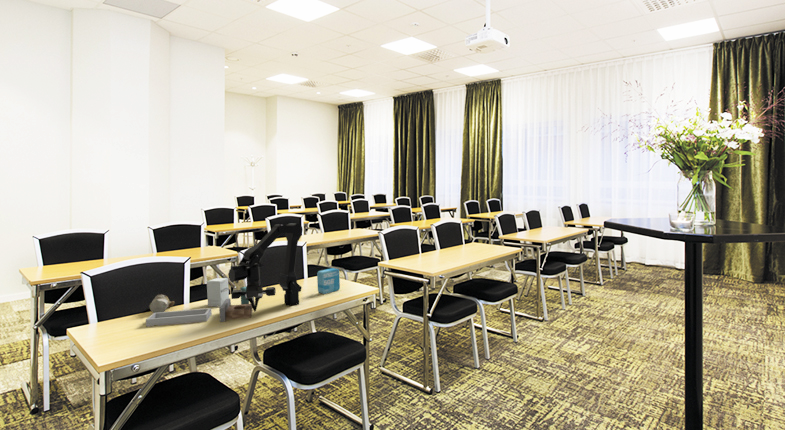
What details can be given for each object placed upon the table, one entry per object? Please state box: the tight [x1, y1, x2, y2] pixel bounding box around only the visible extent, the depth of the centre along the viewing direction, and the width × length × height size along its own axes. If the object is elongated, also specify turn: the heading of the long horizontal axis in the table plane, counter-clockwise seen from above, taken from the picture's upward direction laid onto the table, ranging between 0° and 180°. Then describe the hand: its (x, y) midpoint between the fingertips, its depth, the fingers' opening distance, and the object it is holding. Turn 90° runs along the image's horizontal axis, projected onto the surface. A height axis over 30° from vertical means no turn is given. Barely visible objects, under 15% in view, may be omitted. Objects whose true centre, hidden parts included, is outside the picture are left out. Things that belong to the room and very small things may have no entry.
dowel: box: [239, 286, 250, 305], centre depth 200 cm, size 4×4×10 cm
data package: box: [316, 267, 341, 295], centre depth 227 cm, size 12×4×12 cm, turn 139°
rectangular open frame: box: [145, 307, 213, 327], centre depth 184 cm, size 24×10×3 cm, turn 102°
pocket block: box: [226, 303, 254, 321], centre depth 189 cm, size 10×10×4 cm
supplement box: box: [206, 277, 230, 308], centre depth 208 cm, size 7×7×13 cm
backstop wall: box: [218, 298, 232, 323], centre depth 188 cm, size 2×16×6 cm, turn 12°
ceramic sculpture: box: [149, 293, 175, 314], centre depth 201 cm, size 11×9×15 cm
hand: (255, 311), depth 191 cm, fingers closed
